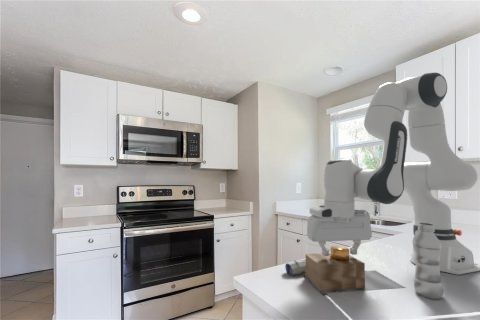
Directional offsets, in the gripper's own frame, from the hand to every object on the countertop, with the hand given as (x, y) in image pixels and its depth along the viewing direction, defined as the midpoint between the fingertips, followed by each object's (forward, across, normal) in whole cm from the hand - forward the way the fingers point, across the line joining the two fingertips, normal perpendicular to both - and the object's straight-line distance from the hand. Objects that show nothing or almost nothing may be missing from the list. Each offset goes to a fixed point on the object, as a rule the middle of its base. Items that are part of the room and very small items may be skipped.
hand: (339, 254), depth 77 cm
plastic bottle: (+9, -20, +11) cm, 24 cm away
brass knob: (+8, 0, 0) cm, 8 cm away
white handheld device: (+9, +2, -10) cm, 14 cm away
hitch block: (+9, -4, 0) cm, 10 cm away
